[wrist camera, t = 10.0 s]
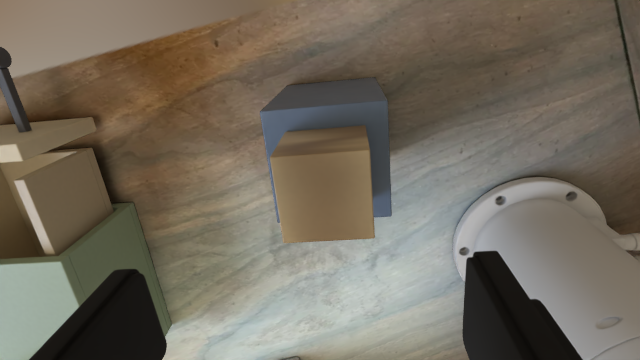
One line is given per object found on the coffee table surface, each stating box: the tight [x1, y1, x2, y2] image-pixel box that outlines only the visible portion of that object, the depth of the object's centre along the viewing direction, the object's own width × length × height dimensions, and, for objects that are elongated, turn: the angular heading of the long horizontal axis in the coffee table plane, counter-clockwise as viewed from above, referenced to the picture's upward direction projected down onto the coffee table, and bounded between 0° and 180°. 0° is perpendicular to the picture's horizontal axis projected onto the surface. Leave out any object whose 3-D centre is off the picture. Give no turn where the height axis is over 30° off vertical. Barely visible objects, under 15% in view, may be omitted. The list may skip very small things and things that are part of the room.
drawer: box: [0, 47, 114, 259], centre depth 29 cm, size 19×10×8 cm, turn 6°
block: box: [270, 125, 375, 243], centre depth 20 cm, size 4×4×4 cm
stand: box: [260, 77, 392, 223], centre depth 26 cm, size 7×7×10 cm
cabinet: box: [0, 202, 172, 360], centre depth 34 cm, size 15×12×10 cm
